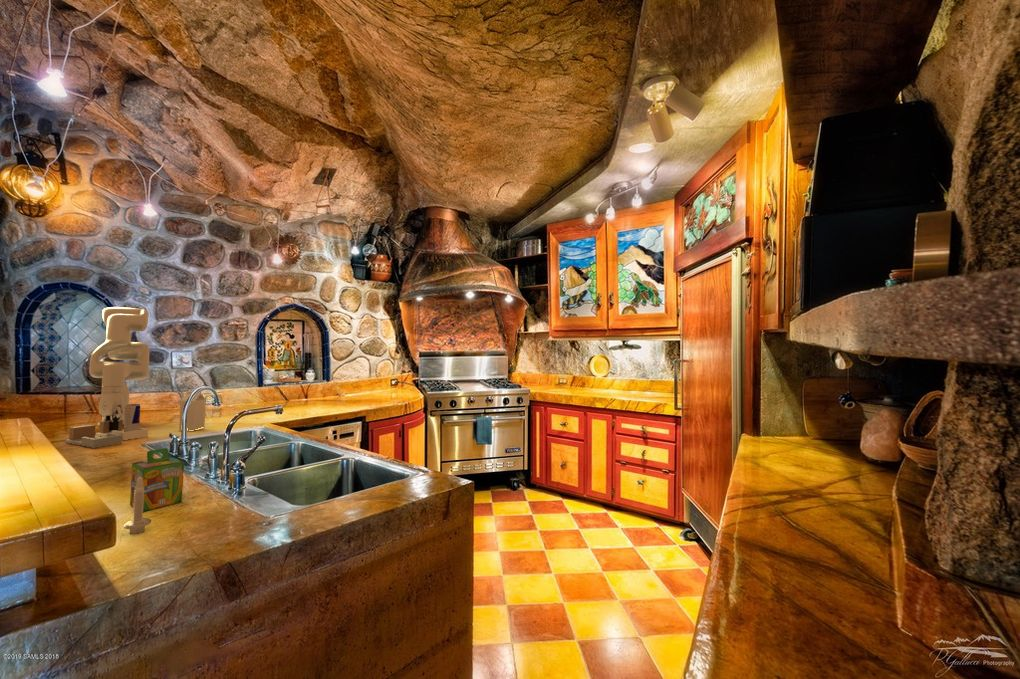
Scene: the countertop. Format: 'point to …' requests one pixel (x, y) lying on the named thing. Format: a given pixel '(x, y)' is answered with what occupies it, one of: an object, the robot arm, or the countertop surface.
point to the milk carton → (194, 412)
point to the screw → (138, 510)
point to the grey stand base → (91, 437)
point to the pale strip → (121, 431)
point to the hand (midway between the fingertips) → (111, 429)
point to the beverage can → (131, 417)
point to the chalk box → (158, 480)
